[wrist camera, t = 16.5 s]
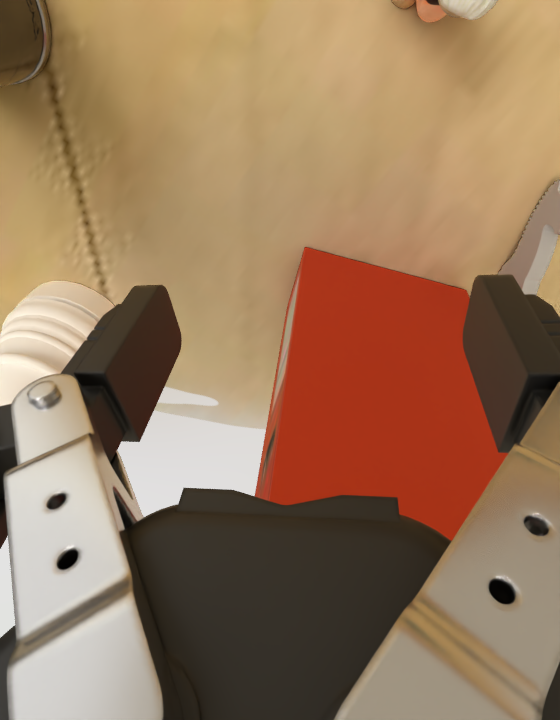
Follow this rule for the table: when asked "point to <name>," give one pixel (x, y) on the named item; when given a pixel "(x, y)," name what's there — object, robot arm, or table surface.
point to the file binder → (376, 395)
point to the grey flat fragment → (536, 243)
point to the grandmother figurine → (448, 8)
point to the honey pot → (46, 333)
